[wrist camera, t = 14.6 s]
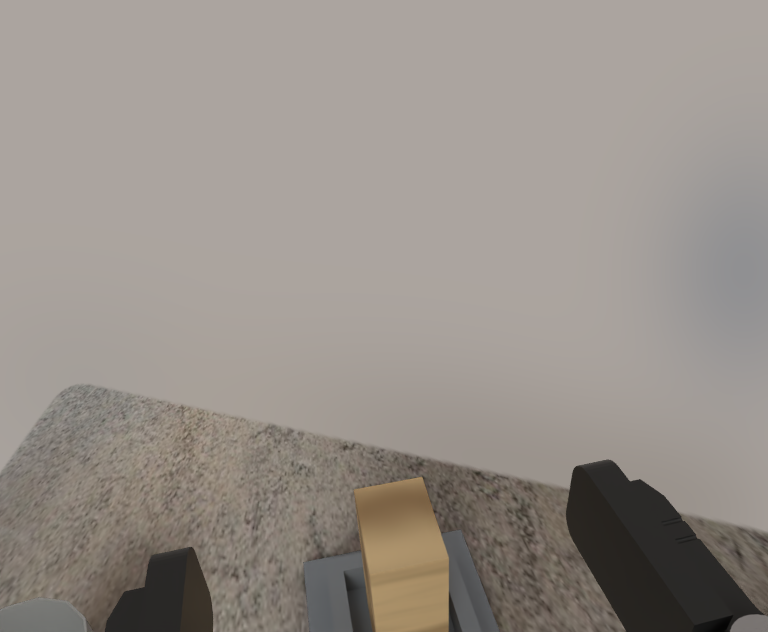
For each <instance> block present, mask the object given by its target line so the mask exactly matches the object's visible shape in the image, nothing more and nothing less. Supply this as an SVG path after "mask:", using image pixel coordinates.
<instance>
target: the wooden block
mask: <svg viewBox="0 0 768 632" xmlns="http://www.w3.org/2000/svg"><path fill="white" fill-rule="evenodd" d="M354 495H355V503H356V512H357V520H358V528H359V537H360V545H361V553H362V561H363V570H364V578H365V586H366V594H367V603H368V609H369V614H370V620H371V626H372V631H373V632H449V557H448V554H447V551H446V548H445V545H444V542H443V539H442V536H441V533H440V530H439V526H438V523H437V520H436V517H435V514H434V511H433V508H432V505H431V502H430V499H429V496H428V493H427V490H426V487H425V484H424V481H423V478H422V477H418V478H413V479H408V480H402V481H397V482H392V483H386V484H381V485H376V486H370V487H365V488H360V489H355V490H354Z"/></svg>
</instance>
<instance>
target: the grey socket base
mask: <svg viewBox="0 0 768 632" xmlns="http://www.w3.org/2000/svg"><path fill="white" fill-rule="evenodd" d="M441 536H442V539H443V542H444V545H445V548H446V551H447V554H448V557H449V632H500V631H499V628H498V626H497V623H496V620H495V618H494V615H493V612H492V610H491V607H490V605H489V602H488V599H487V597H486V594H485V591H484V589H483V586H482V584H481V581H480V578H479V576H478V573H477V570H476V568H475V565H474V562H473V560H472V557H471V555H470V552H469V549H468V547H467V544H466V541H465V539H464V536H463V534H462V531H461V529H460V530H455V531H451V532H446V533H441ZM303 563H304V574H305V586H306V597H307V609H308V620H309V632H373V631H372V626H371V620H370V614H369V609H368V603H367V594H366V586H365V578H364V570H363V561H362V553H361V550H360V551H355V552H351V553H346V554H341V555H336V556H332V557H327V558H322V559H317V560H313V561H308V562H303Z"/></svg>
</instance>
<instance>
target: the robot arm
mask: <svg viewBox="0 0 768 632" xmlns="http://www.w3.org/2000/svg"><path fill="white" fill-rule="evenodd" d="M566 520H567V525H568V529H569V532H570V535H571V537H572V540H573V542H574V543H575V545H576V547H577V548H578V550H579V552H580V554H581V555H582V557H583V559H584V560H585V562H586V564H587V565H588V567H589V569H590V570H591V572H592V574H593V575H594V577H595V579H596V581H597V582H598V584H599V586H600V587H601V589H602V591H603V592H604V594H605V596H606V597H607V599H608V601H609V602H610V604H611V606H612V608H613V609H614V611H615V613H616V614H617V616H618V618H619V619H620V621H621V623H622V624H623V626H624V628H625V629H626V631H627V632H768V616H765V615H764V614H763V613H761V612H760V611H759V610H758V609H757V608H756V607H755V605H754V604H753V603H752V602H751V601H750V600H749V598H748V597H747V596H746V595H745V594H744V592H743V591H742V590H741V589H740V588H739V586H738V585H737V584H736V583H735V581H734V580H733V579H732V578H731V577H730V575H729V574H728V573H727V572H726V571H725V569H724V568H723V567H722V566H721V564H720V563H719V562H718V561H717V560H716V558H715V557H714V556H713V555H712V553H711V552H710V551H709V550H708V549H707V547H706V546H705V545H704V544H703V543H702V541H701V540H700V539H697V538H696V534H695V533H694V532H693V530H692V529H691V528H690V527H689V525H688V524H687V523H686V522H685V521H682V519H681V516H680V515H679V513H678V512H677V511H676V510H675V508H674V507H673V506H672V505H671V504H670V502H669V501H668V500H667V499H666V498H665V496H664V495H662V494H661V493H659V492H658V491H656V490H655V489H654V488H652V487H651V486H649V485H648V484H646V483H645V482H643V481H642V480H640V479H639V480H635V481H629V480H628V478H627V477H626V476H625V475H624V473H623V472H622V471H621V469H620V468H619V467H618V466H617V465H616V464H615V463H614V462H613V461H611V460H603V461H598V462H594V463H589V464H584V465H580V466H576V467H575V468H574V470H573V473H572V479H571V486H570V492H569V498H568V504H567V510H566ZM105 632H213V611H212V602H211V596H210V592H209V589H208V587H207V584H206V581H205V578H204V575H203V573H202V570H201V567H200V564H199V562H198V559H197V556H196V553H195V551H194V549H193V548H192V547H188V548H183V549H179V550H174V551H169V552H165V553H160V554H155V555H152V556H151V558H150V560H149V564H148V570H147V576H146V582H145V587H143V588H139V589H134V590H130V591H125V592H124V593H123V595H122V597H121V598H120V600H119V602H118V603H117V605H116V607H115V608H114V610H113V612H112V613H111V615H110V617H109V618H108V620H107V624H106V628H105Z"/></svg>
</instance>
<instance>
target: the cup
mask: <svg viewBox="0 0 768 632" xmlns="http://www.w3.org/2000/svg"><path fill="white" fill-rule="evenodd" d="M0 632H93V630H92V628H91V627H90V625H89V623H88V621H87V620H86V618H85V617H84V616H83V615H82V614H81V613H80V612H79V611H78V610H77V609H76V608H75V607H74V606H73V605H72V604H71V603H69V602H68V601H65V600H57V599H50V598H42V597H38V598H35V599H31V600H27V601H24V602H20V603H17V604H13V605H10V606H6V607H3V608H2V609H0Z"/></svg>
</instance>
